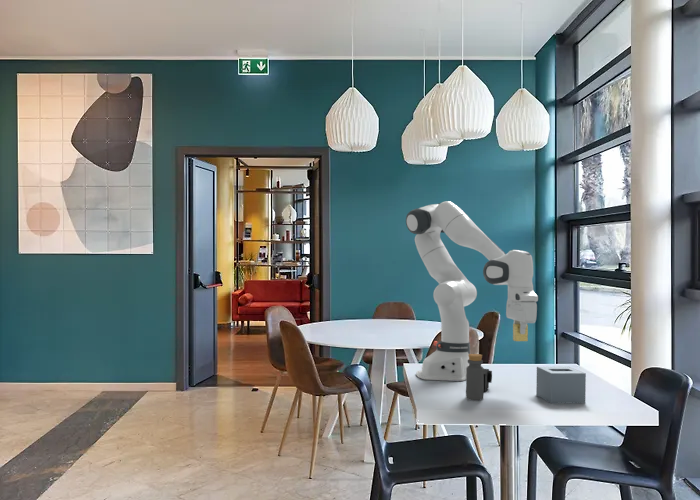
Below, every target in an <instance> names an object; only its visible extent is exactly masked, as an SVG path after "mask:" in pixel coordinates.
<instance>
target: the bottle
mask: <svg viewBox="0 0 700 500" xmlns="http://www.w3.org/2000/svg"><path fill="white" fill-rule="evenodd" d="M468 356H469V359H468V363H469V366H468V367H467V368H466V380H465V381H466V382H465V383H466V384H465V399H467V400H470V401H476V402H477V401H483V400H484V393H483V391H484V369H485V368H484V367H483V366H482V364H483V363H484V360H483V359H482V358H483V354H480V353H470V354H469V355H468Z"/></svg>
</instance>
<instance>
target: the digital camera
mask: <svg viewBox="0 0 700 500" xmlns="http://www.w3.org/2000/svg"><path fill="white" fill-rule="evenodd" d="M492 380H493V371H492V370H490V369H489V368H484V391H483V394H485V393H486V392H487V391H488V389H489V387H490V386H489V385H490V384H491V383H492V382H493V381H492ZM489 383H490V384H489Z"/></svg>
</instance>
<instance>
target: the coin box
mask: <svg viewBox="0 0 700 500" xmlns="http://www.w3.org/2000/svg"><path fill="white" fill-rule="evenodd" d="M586 377H587V376H586V373H585V372H583V371H580V370H579V369H575V368H573V367H571V366H536V396H537V397H539V398H542V399H543V400H544V401H546V402H547V403H549V404H586V389H587V387H586V386H587V385H586V382H587V381H586V380H587V379H586Z"/></svg>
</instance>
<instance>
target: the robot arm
mask: <svg viewBox="0 0 700 500" xmlns="http://www.w3.org/2000/svg"><path fill="white" fill-rule="evenodd" d="M405 224H406V228H407V229H408V231H409V232H410V233H412V234H414V235H415V237H414V242H415V243H414V244H415V246H416V250H417V252H418V254H419V256H420V258H421V261H422V262H423V264H424V266H425V268H426V270H427V272H428V274H429V276H431V278H433V279H434V280H435V281H436V282H437V283H438V285H437V286H436V287H435V288H434V290H433V295H432V297H433V300H434V302H435V304H437V309H438V311H439V317H440V323H441V325H440V326H441V329H440V330H441V336H440V337H441V339H440V341H437V340H434V341H433V343H432V344H433V346H435V348H436V350H435V351H433V352H432V353H431V354H430V355H428V356H427V357H425V358H424V360H423V361H422V366H421V370H417V371H416V374H415V375H416V377H418V378H419V379H422V380H424V381H425V380H428V381H429V380H430V381H450V382H451V381H452V382H453V381H454V382H455V381H456V382H463V381H466V368H467V367H468V366H469V363H468V359H469V356H468V355H469V354H471V342H470V322H469V319H468V318H467V316H466V310H465V307H467V306H469V305H471V304H472V303H473V302H474V301H475V300H476V299H477V295H478V291H477V288H476V286H475V285H474V284H473V283H472V282H471V281H469V280H468V279H467V277H466V276H465V274H464V273H463V272H462V271H461V270H460V268H459V267H458V266H457V264H456V263H455V262H454V260H453V258H452V257H451V255H450V253H449V251H448V249H447V248H446V246H445V244H444V243H443V241H442V239H441V233H444V234H445V235H446V236H447V237H448V238H449V239H450V240H451V241H452V242H453V243H455V244H457V245H459V246H461V247H465V248H469V249H472V250H475V251H477V252H479V253H480V254H482V255H483V256H484V257H485V259H487V262H486V263H485V264H484V266H483V270H482V274H483V277H484V280H485V281H486V282H487V283H488V284H491V285H494V286H507V300H506V306H505V309H506V310H505V311H506V312H505V316H506V318H507V319H510V320H513V324H520V329H519V333H520V334H525V329H526V326H527V324H535V323H536V321H537V315H538V312H537V311H538V304H537V302H538V301H539V296H538V295H537V293H535V291H534V284H533V277H534V261H533V256H532V255H531V253H530V252H528V251H525V250H519V249H512V250H509V251H508V252H507V253H505V252H504V251H503V250H502V248H500V247H499V246H498V245H497V244H496V243H495V241H493V240H492V239H491V238H490V237H489V236H488V235H487V234H486V233H484V231H482V230H481V228H480V227H479V226H478V225H476V223H475V222H474V221H473V220H472V219H471V217H469V215H468V214H466V212H464V210H462V208H461V207H459V206H458V205H457V204H455V203H454V202H452V201H449V200H448V201H447V200H446V201H442V202H440V203H434V204H428V205H425V206H421V207H419V208H414V209H411V211H409V212H408V213H407V214H406V217H405Z"/></svg>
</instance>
